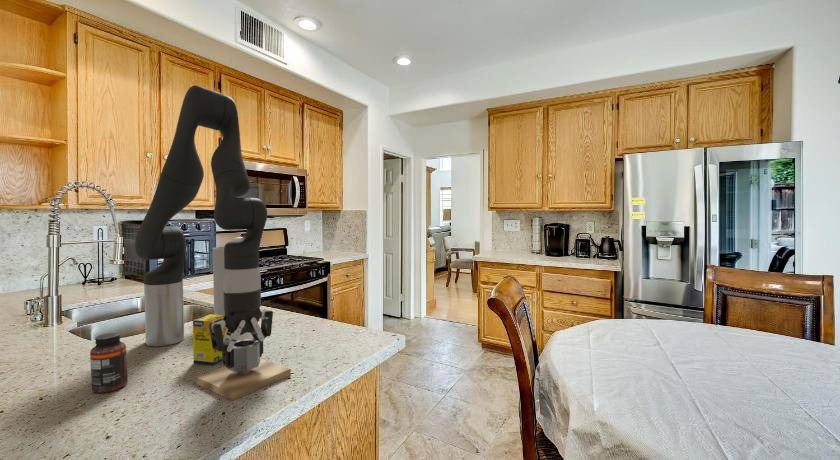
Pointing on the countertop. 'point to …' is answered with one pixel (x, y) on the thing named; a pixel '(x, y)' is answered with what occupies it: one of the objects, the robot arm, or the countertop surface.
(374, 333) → the countertop surface
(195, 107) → the robot arm
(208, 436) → the countertop surface
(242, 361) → the ring
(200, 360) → the supplement box
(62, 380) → the countertop surface
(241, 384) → the shaft stand
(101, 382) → the supplement bottle
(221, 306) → the cylinder vase
